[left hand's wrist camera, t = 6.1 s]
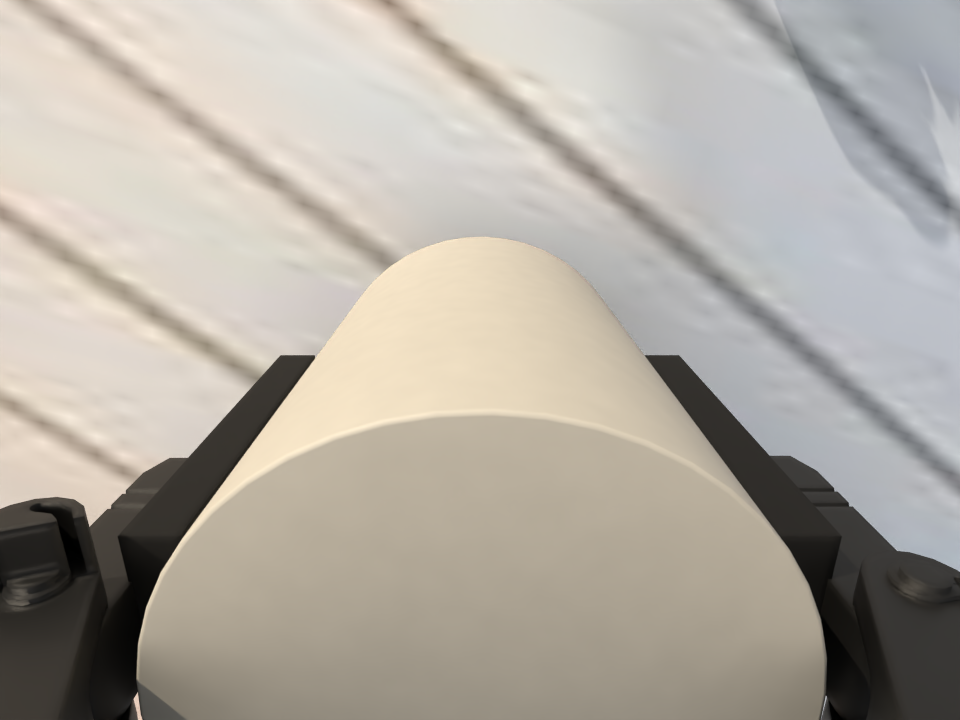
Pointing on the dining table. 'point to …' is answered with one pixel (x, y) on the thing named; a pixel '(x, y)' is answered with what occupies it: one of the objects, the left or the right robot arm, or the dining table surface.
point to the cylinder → (481, 529)
